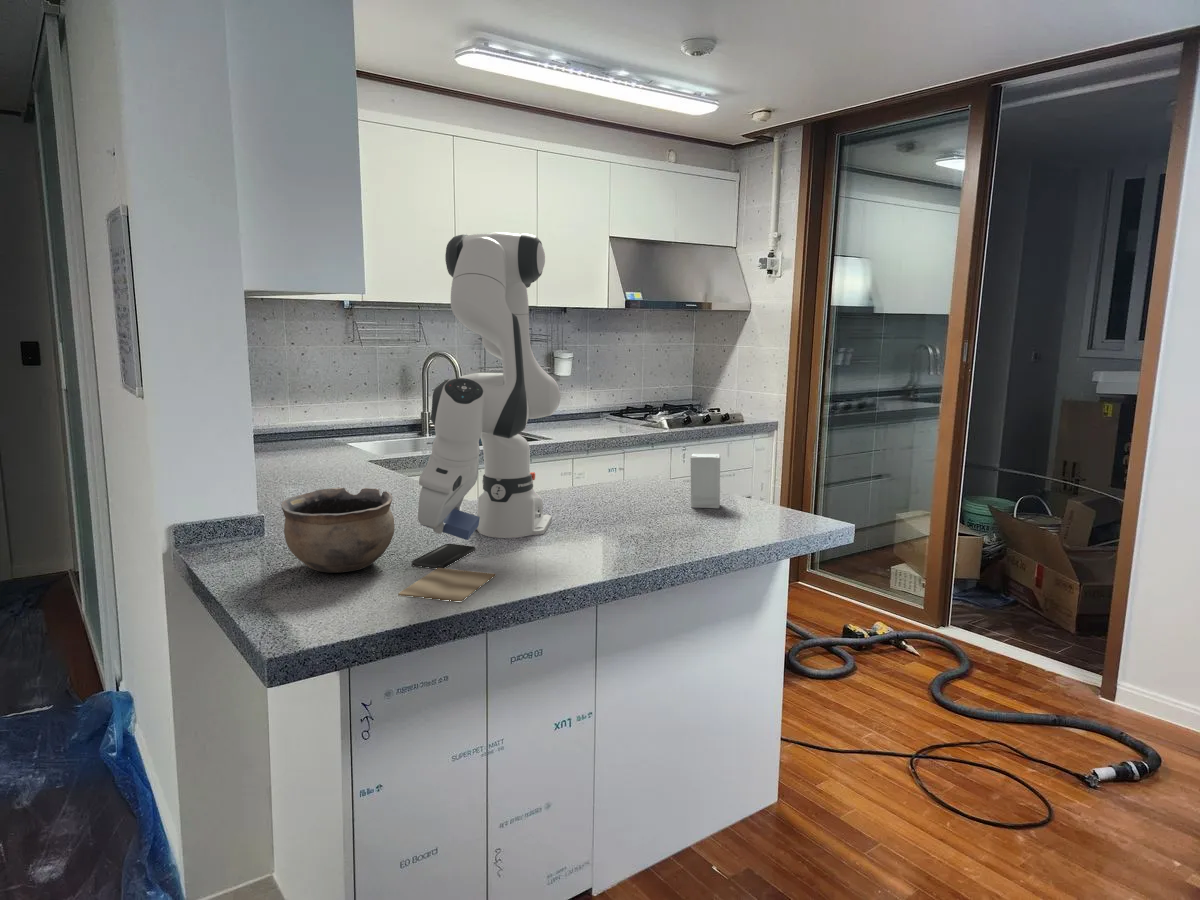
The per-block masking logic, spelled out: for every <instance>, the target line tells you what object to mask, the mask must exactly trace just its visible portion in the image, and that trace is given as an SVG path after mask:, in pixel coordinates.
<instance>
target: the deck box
mask: <svg viewBox="0 0 1200 900" xmlns="http://www.w3.org/2000/svg"><path fill="white" fill-rule="evenodd" d="M479 519H480V517H478V516H477V515H474V514H471V513H470V512H465V511H462V510H457V509H453V510H452V511H451V512H450V514H449V515H448V516H447V517H446V518H445V520H443V522H444V523H446V524H445V530H444V531H443V532H442V533H445V534H448V535H451V536H454V537H457V538H459V539H463V540H465V541H468V540H469V539H470V538H471V536H472V535H473V534H474V533H475V532H476V531H477V530H476V529H477V527H478V526H479ZM419 525H420V526H423V527H426V528H428V529H431V530H433V528H430V527H427V526H424V525H421V524H420V523H419Z"/></svg>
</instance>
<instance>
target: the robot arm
mask: <svg viewBox="0 0 1200 900" xmlns="http://www.w3.org/2000/svg"><path fill="white" fill-rule="evenodd" d="M444 256H445V257H444V259H445V266H446V270H447V272H448V275H450V276H451V278H452V282H451V288H450V309H451V311H452V313H453V315H454V317H455V318H456V320H457V321H459V323H460V324H461V325H462V326H463V327H465V328H466V329H468V330H469V331H471V332H473V333H475V334H476V335H478V336H481V342H482V346H483V348H484V349H485V351H486V352H487V353H488V354H489V355H492V356H493V357H495V358H497V359H499V360H501V361H502V372H475V373H470V374H465V375H461V376H460V377H459V378H447V379H446V380H444V381H443V382H440V384H438V385H437V386H435V388H434V390H433V392H432V400H431V401H432V402H431V410H430V411H431V412H430V417H429V419H430V421H431V423H432V425H434V431H435V438H434V440H433V443H432V445H431V454H430V455H429V458H428V461H427V464H426V466H424V468H423V470H422V472H421V474H420V475H419V479H418V485H419V486H421V489H420V492H419V496H418V498H419V499H418V508H417V509H418V510H417V511H418V512H417V520H418V522H419V525H420V524H421V525H420V526H423V525H424V526H423V527H426V526H427V527H426V528H429V527H430V528H429V529H432V528H433V529H432V530H433V532H434V533H436V534H438V535H442V533H444V532H443V531H444V530H445V524H446V523H444V522H443V520H445V518H446V517H447V516H448V515H449V514H450V512H451V511H452V510H453V509H457V510H460V509H461V505H462V503H463V501H464V498H465V496H466V495H467V494H468V493H469V492H470V490H472V488H473V487H474V486H475V485H476V483H477V480H478V476H479V465H480V464H479V463H480V441H481V444H482V451H483V460H484V461H483V464H484V467H483V468H484V474H483V475H482V480H481V481H482V490H483V492H482V493H481V494H480V495H479V496H478V497H477V515H476V516H478V517H480V519H479V526H478V527H477V529H476V530H475V531H478V533H479V534H481V535H482V536H485V537H491V538H498V539H499V538H500V539H504V538H505V539H512V538H523V537H526V536H535V535H537V536H538V535H543V534H545V533H546V531H547V530H548V528H549V526H550V524H551V523H552V520H553V519H552V515H550V514H545V513H544V506H543V505H544V504H543V498H542V497H541V496H540V495H539V494H538V493H537V492H536V491H535V489H533V488H534V481H535V480H536V472H534V471H532V472H531V455H530V454H531V446H530V444H529V442H528V440H527V439H526V438H525V437H524V436H522V435H521V433H522V431H524V430H525V429H526V426H527V424H528V420H529V419H531V420H533V419H539V418H544V417H550V416H552V415H553V414H554V413H555V412H556V411H557V410H558V408H559V405H560V401H561V391H560V386H559V385H558V382H557V381H556V380H555V379H554V377H553V376H551V375H550V374H548V373H547V372H546V371H545V370H544V369H543V368H542V367H541V365H540V364H539V362H538V361H537V358H536V357H535V355H534V353H533V348H532V345H531V336H530V317H529V316H530V315H529V314H530V313H529V311H530V310H529V309H530V308H529V307H530V306H529V295H528V289H527V288H530V287H531V284H532V283H535V282H537V280H539V278H540V277H541V276H542V275H543V272H544V271H543V270H544V267H545V263H546V255H545V249H544V247H543V244H542V241H541V240H540V239H539V237H538V236H536V235H534V234H531V233H530V234H529V233H525V232H522V233H521V234H520V233H514V232H513V233H512V232H502V231H501V232H500V231H499V232H498V231H493V232H488V233H487V232H486V233H485V232H484V233H476V234H475V233H473V234H467V233H463V234H458V235H456V236H453V237H452V238H451V239H450V240H449V241H448V243H447V244H446V249H445V255H444ZM460 511H461V510H460Z"/></svg>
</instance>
